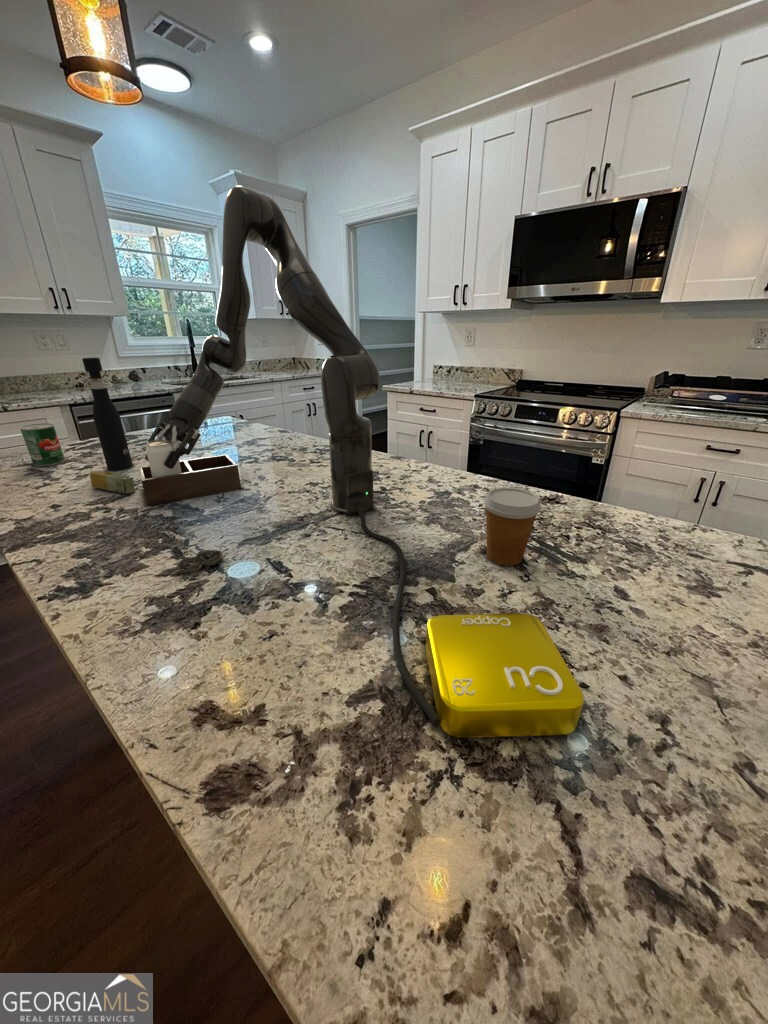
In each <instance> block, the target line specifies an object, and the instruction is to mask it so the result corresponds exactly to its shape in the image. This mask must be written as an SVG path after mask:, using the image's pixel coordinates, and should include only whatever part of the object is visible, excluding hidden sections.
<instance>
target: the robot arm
mask: <svg viewBox="0 0 768 1024" xmlns="http://www.w3.org/2000/svg"><path fill="white" fill-rule="evenodd" d="M281 209H282V208H281V207H280V206H279V205H278V203H277V202H276V201H275V200H274V199H272V198H271V197H270V196H267V195H265V194H263V193H260V192H257V191H255V190H253V189H251V188H248V187H245V186H242V185H235V186H233V187H232V188H231V189H230V190H229V191H228V194H227V196H226V198H225V203H224V208H223V219H222V220H223V221H222V249H221V251H222V253H221V254H222V255H221V261H222V262H221V264H222V265H221V283H220V284H221V285H220V291H219V292H220V293H219V298H218V303H217V309H216V314H215V326H216V327H217V328H218V330H220V331H221V332H222V333H223V334H224V335H225V336H226V337H227V338H228V339H226V338H224V337H223V336H220V335H217V334H212V335H210V336H207V338H206V339H205V340H204V342H203V344H202V347H201V352H200V356H199V360H198V363H197V367H196V369H195V372H194V373H193V374H192V376H191V378H190V380H189V381H188V383H187V384H186V386H184V388H183V389H182V390H181V392H180V394H179V395H178V397H177V398H176V400H175V402H174V403H173V404H172V406H171V408H170V410H169V411H168V417H170V420H169V421H168V422H167V423H165V422H164V421H159V422H158V424H157V425H156V427H155V429H154V431H153V432H152V433H151V435H150V436H149V438H148V442H150V441H154V440H161V439H166V440H171V441H172V443H173V449H172V450H173V451H171V452H170V454H169V455H168V457H167V459H166V460H165V462H164V466H166V467H168V468H170V469H173V468H174V466H175V465H176V463H177V461H178V460H179V461H180V458H181V457H183V456H184V455H186V456H189V455H190V454H191V453H192V451H193V449H194V447H195V445H197V442H198V441H199V439H200V437H201V433H199V432H198V431H199V430H200V428H201V427H202V425H203V423H204V422H205V420H206V419H207V416H208V415H209V414H210V412H211V410H212V408H213V405H214V403H215V401H216V400H217V397H218V396H219V394H220V392H221V391H222V389H223V388H224V385H225V379H224V378H223V377H222V376H221V374H219V373H218V372H217V371H216V370H215V369H213V366H217V367H218V368H220V369H223V370H225V371H227V372H229V373H232V374H238V373H240V372H241V371H243V370H244V368H245V366H246V364H247V343H246V329H247V323H248V319H249V315H250V310H251V302H252V301H251V292H250V287H249V284H248V283H249V282H248V280H247V277H246V273H245V267H244V251H245V248H246V247H245V246H246V243H247V242H250V243H254V244H257V245H260V246H262V247H263V248H264V249H265V250H266V251H267V253H268V254H269V255H270V257H271V259H272V261H273V262H274V264H275V267H276V269H275V270H276V271H275V289H276V293H277V295H278V297H279V300H280V301H281V303H282V304H283V306H284V308H285V310H286V312H287V313H288V315H289V316H290V317H291V319H292V320H293V321H294V322H295V324H296V325H297V326H299V328H301V329H302V330H303V331H304V332H306V333H307V334H308V335H309V336H311V337H312V338H314V339H315V340H316V341H318V342H319V343H320V344H321V345H323V346H324V347H325V348H326V349H327V350H328V351H329V352H330V353H331V355H330V356H328V357H326V359H325V360H324V362H323V364H322V367H321V371H320V373H321V374H320V385H321V394H322V395H321V396H322V402H323V411H324V413H323V414H324V418H325V421H326V424H327V428H328V442H329V445H328V446H329V460H330V462H329V465H330V483H331V496H332V497H331V499H332V500H331V507H332V508H333V509H334V510H335V511H336V512H339V513H344V514H348V515H350V516H352V515H355V514H358V515H359V518H360V526H361V529H362V530H363V532H364V533H365V534H366V535H368V536H369V537H371V538H373V539H375V540H378V541H382V542H385V543H387V544H389V545H390V546H391V547H393V549H394V551H395V552H396V553H397V558H398V564H399V579H398V585H397V592H396V597H395V598H396V599H395V604H394V608H393V615H392V647H393V648H392V649H393V653H394V658H395V661H396V665H397V668H398V670H399V674H400V676H401V678H402V680H403V682H404V684H405V687H406V688H407V689H408V691H409V693H410V694H411V696H412V697H413V698H414V700H415V701H416V703H417V704H418V705H419V707H420V708H421V709H422V711H423V712H424V714H425V715H426V717H427V718H428V720H429V721H430V723H431V724H432V726H438V725H440V724H439V717H438V715H437V711H436V710H435V709H434V708H433V706H432V705H431V704H430V702H429V700H427V698H426V697H425V696H424V694H423V693H422V692H421V690H420V689H419V688H418V686H417V685H416V683H415V681H414V680H413V678H412V676H411V674H410V672H409V669H408V668H407V665H406V663H405V660H404V656H403V652H402V646H401V634H400V633H401V632H400V631H401V630H400V622H401V621H400V619H401V612H402V606H403V600H404V593H405V592H404V591H405V584H406V577H407V570H406V562H405V557H404V553H403V550H402V548H401V547H400V545H399V544H398V543H397V542H396V541H395V540H393V539H392V538H390V537H387V536H384V535H381V534H378V533H375V532H373V531H372V530H370V528H368V525H367V522H366V516H365V514H364V512H368V511H372V510H374V470H373V463H372V461H373V460H372V458H373V456H372V449H373V448H372V444H373V443H372V442H373V441H372V433H373V432H372V431H373V430H372V421H371V419H370V418H368V417H366V416H363V415H360V414H359V413H358V411H357V406H356V401H358V400H360V401H361V400H364V399H369V398H370V397H373V396H374V395H375V394H376V393H377V392H378V391H379V388H380V383H381V379H380V377H381V376H380V372H379V368H378V367H377V366H378V365H377V364H376V361H375V360H374V358H373V357H372V356H371V354H370V353H369V351H368V350H367V349H366V348H365V346H364V345H363V344H362V343H361V341H360V340H359V338H358V337H357V336H356V335H355V334H354V332H353V331H352V329H351V328H350V326H349V325H348V324H347V322H346V321H345V319H344V318H343V316H342V313H340V311H339V310H338V308H337V306H336V305H335V303H334V302H333V300H332V299H331V297H330V295H329V294H328V292H327V290H326V287H324V285H323V283H322V281H321V280H320V278H319V276H318V275H317V273H316V272H315V270H313V268H312V266H311V264H310V262H309V261H308V259H307V258H306V256H305V254H304V252H303V251H302V250H301V248H300V246H299V244H298V243H297V241H296V239H295V237H294V234H293V232H292V230H291V228H290V225H289V223H288V222H287V220H286V217H285V215H284V213H283V212H282V210H281ZM144 460H145V461H147V462H149V461H148V457H147V454H146V455H145V456H144Z"/></svg>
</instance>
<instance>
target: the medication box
mask: <svg viewBox="0 0 768 1024" xmlns="http://www.w3.org/2000/svg"><path fill="white" fill-rule="evenodd" d="M89 478H90V484H91V487H92V488H96V489H101V490H105V491H110V492H115V493H120V494H123V495H129V494H134V493H135V492H136V490H135V482H134V481H135V480H134V476H131V475H125V474H119V473H116V472H115V473H113V472H109V471H102V470H94V471H90V472H89Z"/></svg>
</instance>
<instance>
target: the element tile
mask: <svg viewBox="0 0 768 1024" xmlns="http://www.w3.org/2000/svg"><path fill="white" fill-rule="evenodd" d="M425 637H426V639H425V653H426V658H427V665H428V670H429V675H430V682H431V687H432V694H433V698H434V704H435V711H436V714H437V715H438V717H439V724H438V725H440V727H441V729H442V730H443V732H445V733H446V734H448V735H449V736H451V737H454V738H459V739H460V738H461V739H465V738H466V739H467V738H468V739H469V738H472V739H473V738H500V737H501V738H505V737H536V736H538V737H540V736H541V737H543V736H545V737H546V736H565V735H570V734H571V733H573V732H575V730H576V728H577V727H578V723H579V720H580V717H581V713H582V710H583V706H584V703H585V702H584V693H583V691H582V689H581V688H580V686H579V684H578V682H577V681H576V679H575V677H574V676H573V673H572V672H571V670H570V668H569V667H568V665H567V663H566V661H565V660H564V658H563V656H562V655H561V653H560V651H559V649H558V648H557V646H556V644H555V642H554V640H553V639H552V636H551V635H550V634H549V631H548V630H547V628H546V627H545V624H544V623H543V622H542V621H541V620H540V619H539V618H537V616H535V615H532V614H527V613H479V614H477V613H476V614H473V613H472V614H438V615H435V616H432V617H430V618H429V619H428V621H427V623H426V635H425Z"/></svg>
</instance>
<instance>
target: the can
mask: <svg viewBox="0 0 768 1024" xmlns="http://www.w3.org/2000/svg"><path fill="white" fill-rule="evenodd" d="M172 449H173V443H172V441H171V440H166V439H161V440H154V441H150V442H149V441H148V442H147V443H146V450H145V452H146V455H147V457H148V461H147V462H148V466H150V469H151V473H152V477H153V478H155V477H161V476H167V475H174V474H180V473H182V472H181V467H180V463H179V461H180V459H179V460H178V461H177V463H176V465H175V466H174V468H173V469H170V468H168V467H166V466H164V462H165V460H166V459H167V457H168V455H169V454H170V452H171V451H173V450H172Z"/></svg>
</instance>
